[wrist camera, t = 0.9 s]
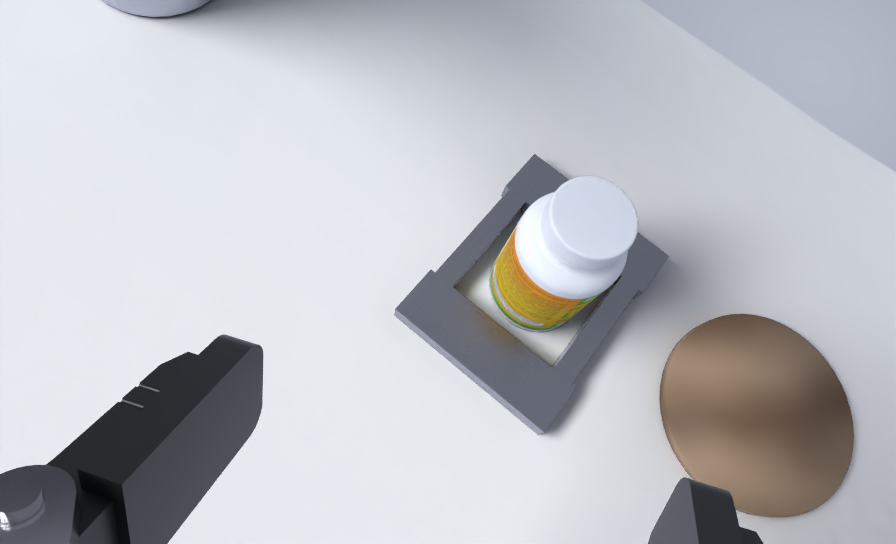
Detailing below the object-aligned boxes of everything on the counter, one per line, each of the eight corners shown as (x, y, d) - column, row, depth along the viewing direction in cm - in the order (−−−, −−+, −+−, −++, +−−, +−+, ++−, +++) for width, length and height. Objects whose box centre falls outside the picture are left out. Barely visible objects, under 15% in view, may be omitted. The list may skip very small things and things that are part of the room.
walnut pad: (630, 343, 34) (636, 339, 33) (788, 299, 36) (797, 295, 36) (708, 544, 31) (717, 545, 30) (876, 481, 33) (888, 481, 32)
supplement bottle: (550, 352, 33) (622, 300, 24) (470, 299, 33) (510, 229, 24) (593, 277, 35) (674, 204, 26) (516, 228, 35) (570, 139, 26)
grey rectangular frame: (394, 315, 33) (395, 309, 31) (529, 164, 37) (534, 153, 36) (537, 434, 31) (544, 432, 30) (659, 263, 36) (668, 256, 35)
